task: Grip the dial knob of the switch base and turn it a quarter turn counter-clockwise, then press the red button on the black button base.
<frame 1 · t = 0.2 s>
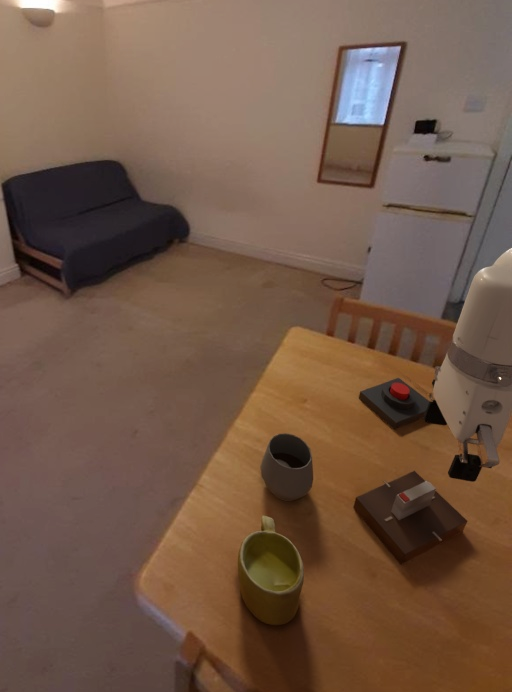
hand: (446, 448, 60), 21 cm above the table, tool pointing down, fingers open, 9 cm apart
cup: (284, 486, 78), on the table
switch base: (406, 519, 71), on the table
timer button: (399, 391, 92), point 5 cm above the table, slide at 0.2 cm
mug: (267, 580, 64), on the table
black button base: (395, 405, 94), on the table
dial knob: (413, 499, 69), point 5 cm above the table, hinge at 0.0°
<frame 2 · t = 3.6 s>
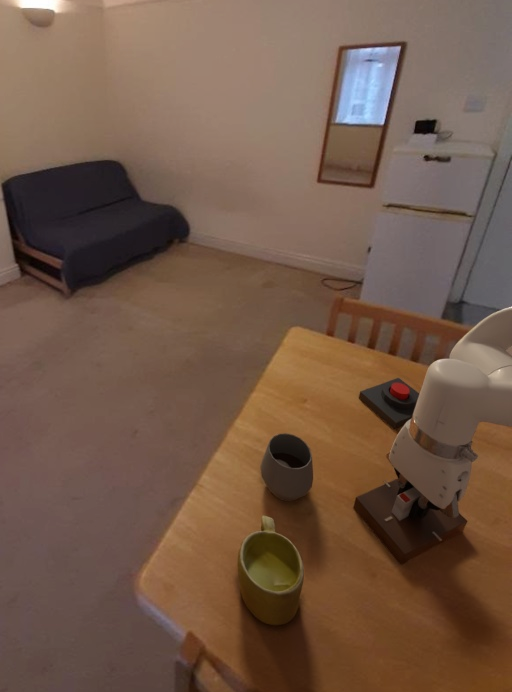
hand: (410, 508, 70), 3 cm above the table, tool pointing down, fingers closed on dial knob
dial knob: (413, 499, 69), point 5 cm above the table, hinge at 1.8°, touching gripper
everything else where it was.
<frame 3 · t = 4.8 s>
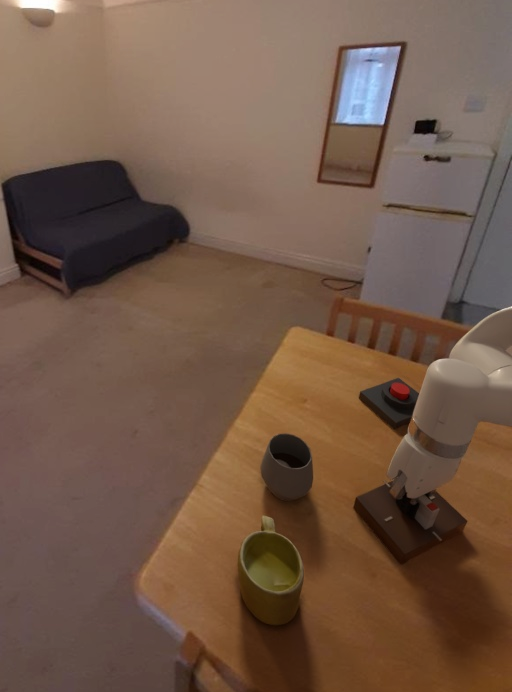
hand: (410, 507, 70), 3 cm above the table, tool pointing down, fingers closed on dial knob
dial knob: (413, 499, 69), point 5 cm above the table, hinge at 89.9°, touching gripper
everything else where it was.
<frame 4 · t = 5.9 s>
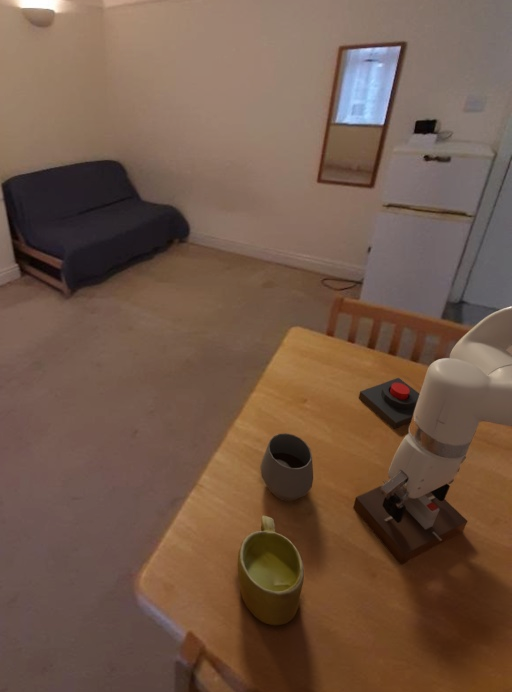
hand: (413, 503, 69), 4 cm above the table, tool pointing down, fingers open, 9 cm apart
dial knob: (413, 499, 69), point 5 cm above the table, hinge at 89.9°
everything else where it was.
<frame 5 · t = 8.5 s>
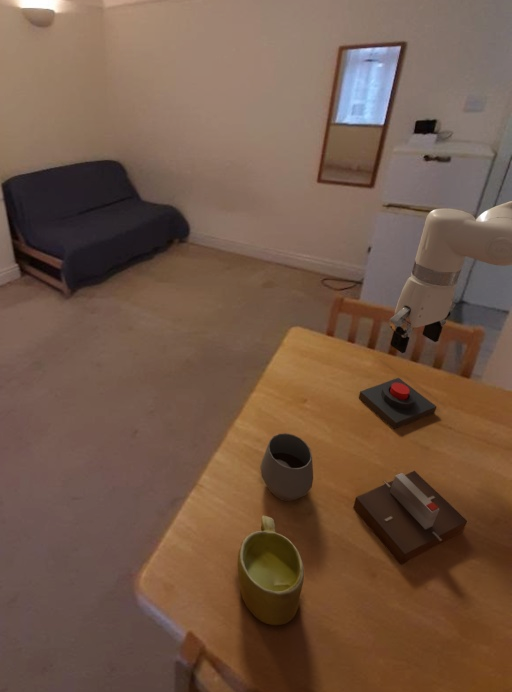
hand: (413, 343, 86), 18 cm above the table, tool pointing down, fingers open, 8 cm apart
nothing on the table moved.
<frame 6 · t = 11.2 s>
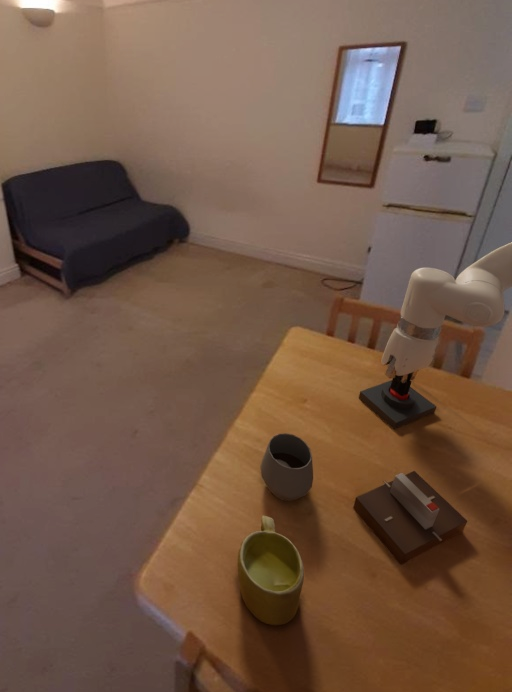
hand: (398, 390, 92), 4 cm above the table, tool pointing down, fingers closed
timer button: (398, 394, 92), point 4 cm above the table, slide at -0.8 cm, touching gripper
everything else where it was.
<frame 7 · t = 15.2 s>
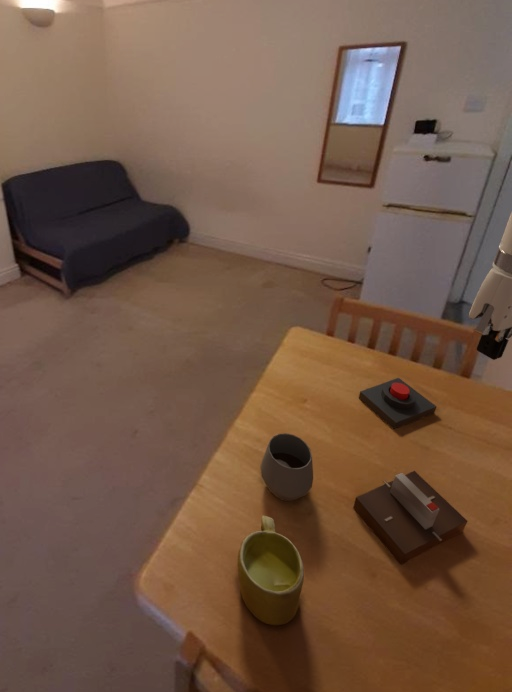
hand: (488, 353, 72), 25 cm above the table, tool pointing down, fingers closed
timer button: (399, 391, 92), point 5 cm above the table, slide at 0.1 cm
everything else where it was.
at the end: dial knob at +90° (first picture: +0°); timer button pushed in 1.1 cm at the most during the clip, back to where it started at the end; timer button slide at 0.1 cm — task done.
